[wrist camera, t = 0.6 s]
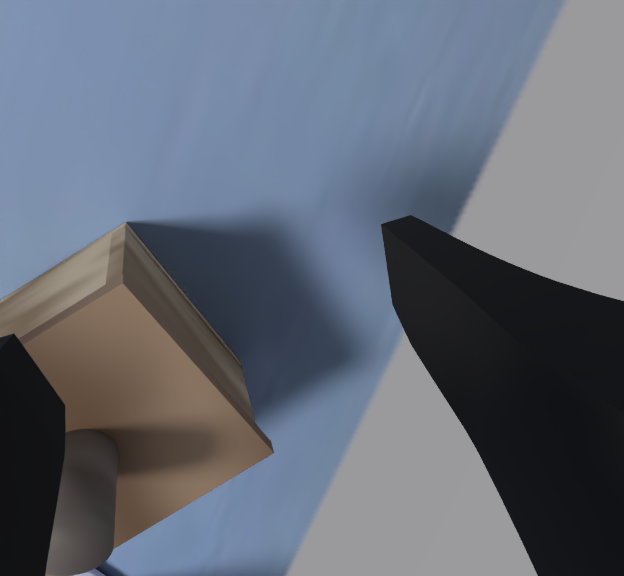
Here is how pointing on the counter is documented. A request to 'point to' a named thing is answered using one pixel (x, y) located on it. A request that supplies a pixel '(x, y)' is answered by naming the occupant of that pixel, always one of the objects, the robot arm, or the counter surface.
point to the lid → (132, 424)
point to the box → (150, 283)
